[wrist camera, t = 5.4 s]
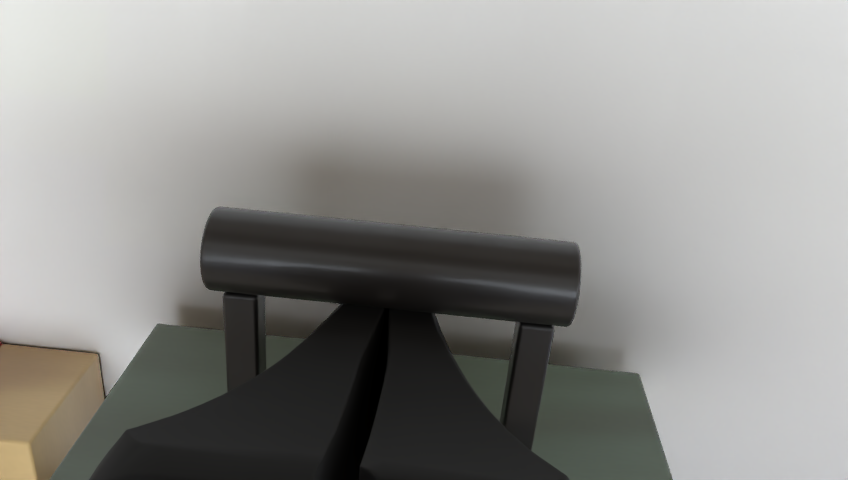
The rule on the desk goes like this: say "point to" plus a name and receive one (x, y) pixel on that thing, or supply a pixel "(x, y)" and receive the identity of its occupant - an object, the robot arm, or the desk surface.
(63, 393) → the box with red band
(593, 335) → the desk surface
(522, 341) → the drawer
